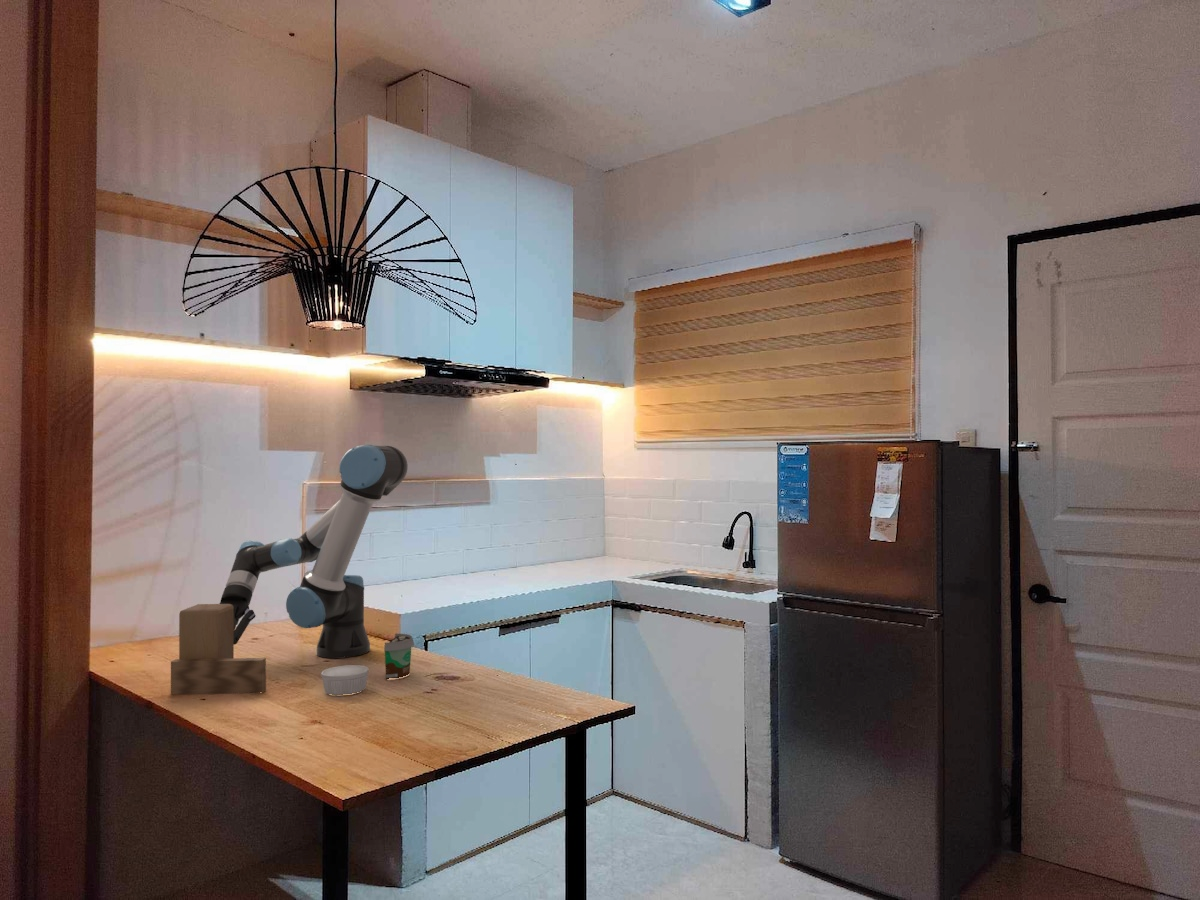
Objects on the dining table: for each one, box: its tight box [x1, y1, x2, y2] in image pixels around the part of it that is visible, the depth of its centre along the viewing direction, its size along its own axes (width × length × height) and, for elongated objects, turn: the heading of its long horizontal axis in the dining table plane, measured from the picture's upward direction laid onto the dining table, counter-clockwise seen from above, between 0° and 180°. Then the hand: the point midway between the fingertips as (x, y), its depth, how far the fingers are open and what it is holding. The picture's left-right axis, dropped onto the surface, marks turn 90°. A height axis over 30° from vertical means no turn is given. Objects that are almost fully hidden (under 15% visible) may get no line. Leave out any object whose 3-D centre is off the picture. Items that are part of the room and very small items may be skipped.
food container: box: [383, 633, 415, 680], centre depth 218 cm, size 12×6×10 cm, turn 0°
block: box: [178, 603, 235, 659], centre depth 209 cm, size 10×10×20 cm
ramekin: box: [320, 664, 370, 695], centre depth 203 cm, size 11×11×5 cm
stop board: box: [170, 657, 267, 695], centre depth 203 cm, size 22×2×8 cm, turn 92°
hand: (212, 666), depth 215 cm, fingers closed
